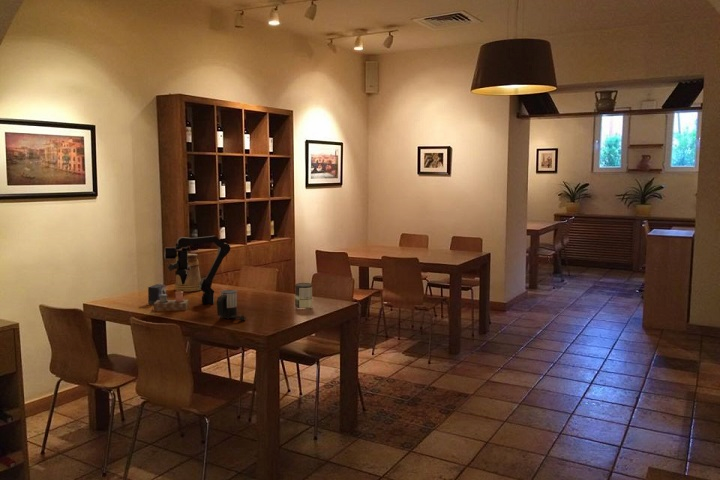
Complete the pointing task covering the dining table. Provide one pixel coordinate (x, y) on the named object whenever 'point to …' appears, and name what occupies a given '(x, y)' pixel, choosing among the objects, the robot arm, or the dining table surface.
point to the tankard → (189, 276)
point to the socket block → (170, 305)
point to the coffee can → (303, 295)
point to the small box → (155, 292)
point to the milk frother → (228, 305)
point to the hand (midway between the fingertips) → (183, 284)
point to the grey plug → (163, 298)
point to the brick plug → (179, 296)
